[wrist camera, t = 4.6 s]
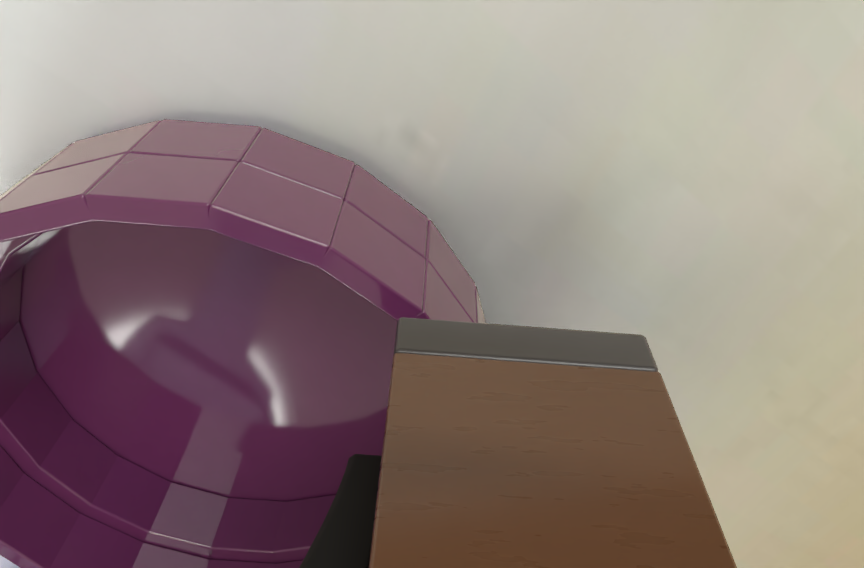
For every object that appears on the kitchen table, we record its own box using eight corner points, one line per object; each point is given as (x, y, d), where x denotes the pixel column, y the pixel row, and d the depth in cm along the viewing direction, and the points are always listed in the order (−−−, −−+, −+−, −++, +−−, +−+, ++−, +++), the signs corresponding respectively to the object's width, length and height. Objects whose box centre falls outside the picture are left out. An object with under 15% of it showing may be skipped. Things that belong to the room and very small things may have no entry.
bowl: (464, 514, 25) (465, 646, 21) (63, 487, 25) (-15, 615, 21) (521, 134, 17) (542, 228, 13) (-81, 87, 17) (-258, 169, 13)
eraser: (580, 543, 15) (628, 809, 11) (385, 529, 15) (359, 793, 11) (645, 332, 12) (752, 601, 8) (397, 314, 12) (367, 575, 8)
